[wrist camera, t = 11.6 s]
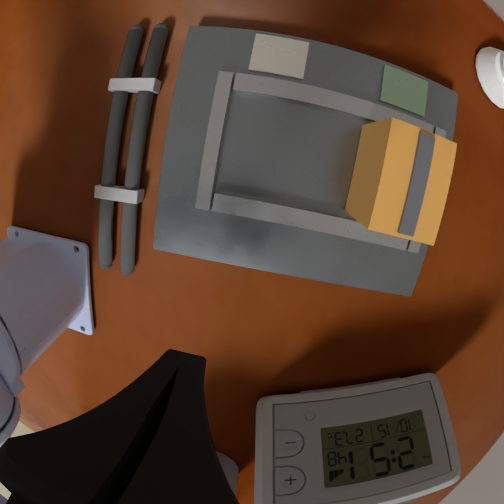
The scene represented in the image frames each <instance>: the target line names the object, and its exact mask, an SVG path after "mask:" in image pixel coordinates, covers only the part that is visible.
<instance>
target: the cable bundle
mask: <svg viewBox="0 0 504 504" xmlns="http://www.w3.org/2000/svg"><path fill="white" fill-rule="evenodd" d="M143 32H144V29H143V27H142V26H141V25H134V26H132V27H131V28H130V29H129V32H128V36H127V39H126V43H125V46H124V50H123V54H122V58H121V62H120V66H119V70H118V74H117V78H113V79H110V82H109V87H108V91H111V92H114V93H113V98H112V104H111V109H110V115H109V121H108V127H107V134H106V142H105V149H104V158H103V168H102V179H101V184H99V185H95V192H94V198H99V199H100V209H99V266H100V267H101V268H102V269H105V270H106V269H109V268H110V267H111V266H112V240H113V214H114V201H119V202H123V210H122V227H121V258H120V269H121V271H122V273H123V274H125V275H130V274H132V273H133V271H134V266H135V241H136V224H137V211H138V203H141V202H143V201H144V191H145V189H141V188H140V179H141V171H142V162H143V155H144V148H145V141H146V134H147V128H148V122H149V116H150V111H151V105H152V100H153V95H154V93H158V94H159V92H160V87H161V83H162V82H161V81H160V80H158V79H157V76H158V71H159V67H160V63H161V59H162V55H163V51H164V47H165V43H166V39H167V35H168V32H169V27H168V25H167V24H165V23H159V24H157V25H156V26H155V27H154V29H153V33H152V36H151V40H150V44H149V47H148V51H147V55H146V59H145V63H144V67H143V72H142V76H141V78H132V75H133V71H134V66H135V62H136V58H137V54H138V50H139V47H140V43H141V39H142V36H143ZM129 93H138V95H137V100H136V106H135V111H134V117H133V123H132V129H131V135H130V142H129V150H128V157H127V166H126V175H125V185H124V186H119V185H116V175H117V165H118V157H119V149H120V141H121V134H122V128H123V121H124V115H125V110H126V104H127V99H128V94H129Z"/></svg>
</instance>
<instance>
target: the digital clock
mask: <svg viewBox="0 0 504 504" xmlns="http://www.w3.org/2000/svg"><path fill="white" fill-rule="evenodd" d="M460 476H461V465H460V459H459V454H458V449H457V444H456V440H455V436H454V432H453V428H452V424H451V420H450V416H449V412H448V409H447V405H446V401H445V398H444V395H443V391H442V388H441V385H440V382H439V380H438V378H437V376H436V375H435V374H434V373H422V374H418V375H414V376H410V377H405V378H400V377H396V378H391V379H386V380H381V381H375V382H370V383H364V384H357V385H350V386H343V387H336V388H328V389H319V390H309V391H300V393H296V394H283V395H270V396H265V397H262V398H261V399H259V401H258V403H257V406H256V437H255V490H254V504H403V503H407V502H410V501H413V500H416V498H418V497H421V496H424V495H427V494H429V493H432V492H435V491H438V490H440V489H443V488H445V487H448V486H450V485H452V484H454V483H455V482H457V481H458V480H459V479H460Z"/></svg>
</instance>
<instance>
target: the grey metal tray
mask: <svg viewBox="0 0 504 504" xmlns="http://www.w3.org/2000/svg"><path fill="white" fill-rule="evenodd" d="M457 101H458V93H456V92H454V91H452V90H450V89H449V88H447V87H445V86H442V85H440V84H438V83H436V82H434V81H432V80H430V79H428V78H425V77H423V76H421V75H419V74H416V73H414V72H412V71H409V70H407V69H404V68H402V67H399V66H397V65H394V64H391V63H389V62H386V61H383V60H380V59H377V58H374V57H371V56H368V55H365V54H362V53H359V52H356V51H352V50H349V49H346V48H342V47H338V46H335V45H331V44H327V43H323V42H318V41H314V40H310V39H305V38H300V37H295V36H290V35H284V34H278V33H272V32H265V31H257V30H249V29H240V28H228V27H213V26H189V30H188V34H187V38H186V41H185V45H184V49H183V53H182V58H181V62H180V66H179V71H178V75H177V80H176V84H175V89H174V94H173V99H172V104H171V110H170V115H169V121H168V126H167V132H166V139H165V145H164V152H163V158H162V166H161V173H160V181H159V190H158V199H157V208H156V219H155V230H154V243H153V249H156V250H161V251H166V252H171V253H176V254H181V255H186V256H191V257H196V258H201V259H206V260H211V261H216V262H221V263H227V264H232V265H237V266H242V267H247V268H253V269H258V270H263V271H269V272H274V273H279V274H285V275H290V276H296V277H301V278H307V279H312V280H318V281H323V282H329V283H335V284H340V285H346V286H352V287H357V288H363V289H369V290H375V291H381V292H387V293H392V294H398V295H404V296H410V297H411V295H412V292H413V289H414V287H415V284H416V281H417V278H418V276H419V273H420V270H421V267H422V264H423V261H424V258H425V255H426V252H427V249H428V246H429V245H428V244H424V243H421V242H417V241H413V240H409V239H405V238H401V237H397V236H393V235H389V234H384V233H380V232H376V231H372V230H368V229H367V228H365V227H364V226H363V225H362V224H361V223H359V222H358V221H357V220H356V219H355V218H353V217H352V216H351V215H350V214H348V213H347V212H346V211H345V206H346V202H347V198H348V193H349V189H350V184H351V180H352V175H353V171H354V166H355V161H356V156H357V151H358V146H359V141H360V135H361V130H362V125H365V124H369V123H372V122H376V121H380V120H383V119H387V118H391V117H393V118H396V119H398V120H401V121H404V122H407V123H409V124H412V125H414V126H417V127H420V128H422V129H425V130H427V131H429V132H432V133H434V134H437V135H439V136H441V137H443V138H446V139H448V140H450V141H452V142H453V136H454V128H455V120H456V112H457Z"/></svg>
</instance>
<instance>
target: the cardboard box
mask: <svg viewBox="0 0 504 504" xmlns="http://www.w3.org/2000/svg"><path fill="white" fill-rule="evenodd" d="M456 148H457V143H454V142H452V141H450V140H448V139H446V138H443V137H441V136H439V135H437V134H434V133H432V132H429V131H427V130H425V129H422V128H420V127H417V126H414V125H412V124H409V123H407V122H404V121H401V120H398V119H396V118H393V117H391V118H387V119H383V120H380V121H376V122H372V123H369V124H365V125H362V130H361V135H360V141H359V146H358V151H357V156H356V161H355V166H354V171H353V175H352V180H351V184H350V189H349V193H348V198H347V202H346V206H345V211H346V212H347V213H348V214H350V215H351V216H352V217H353V218H355V219H356V220H357V221H358V222H359V223H361V224H362V225H363V226H364V227H365V228H367V229H368V230H372V231H376V232H380V233H384V234H389V235H393V236H397V237H401V238H405V239H409V240H413V241H417V242H421V243H424V244H428V245H432V246H434V243H435V239H436V236H437V233H438V229H439V226H440V222H441V218H442V214H443V211H444V207H445V203H446V198H447V194H448V190H449V185H450V181H451V176H452V171H453V166H454V160H455V154H456Z"/></svg>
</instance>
